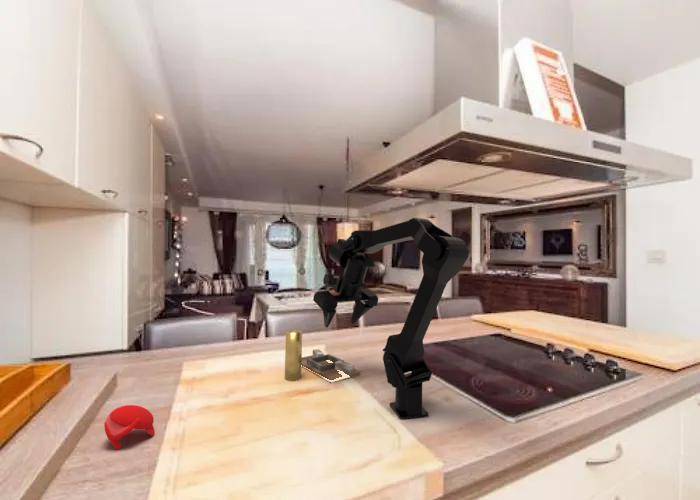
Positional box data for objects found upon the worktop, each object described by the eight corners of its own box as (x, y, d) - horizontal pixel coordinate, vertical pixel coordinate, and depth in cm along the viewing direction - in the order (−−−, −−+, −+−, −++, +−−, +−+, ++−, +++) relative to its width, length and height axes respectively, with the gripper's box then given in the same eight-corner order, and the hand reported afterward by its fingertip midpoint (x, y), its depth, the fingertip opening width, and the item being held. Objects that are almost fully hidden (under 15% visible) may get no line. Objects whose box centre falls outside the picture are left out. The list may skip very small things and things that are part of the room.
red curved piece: (95, 439, 50) (134, 413, 52) (98, 411, 54) (134, 389, 56) (127, 461, 54) (162, 437, 56) (127, 434, 58) (160, 413, 61)
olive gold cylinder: (301, 380, 83) (303, 333, 84) (284, 381, 82) (286, 333, 82) (300, 374, 87) (301, 329, 88) (284, 375, 86) (285, 330, 87)
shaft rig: (360, 374, 88) (360, 364, 88) (330, 383, 82) (331, 371, 82) (320, 356, 104) (321, 347, 104) (293, 362, 97) (294, 352, 97)
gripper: (363, 263, 96) (349, 307, 100) (310, 262, 84) (297, 312, 89) (386, 279, 88) (370, 327, 92) (331, 281, 76) (316, 335, 81)
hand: (339, 324), depth 89 cm, fingers open, 9 cm apart
